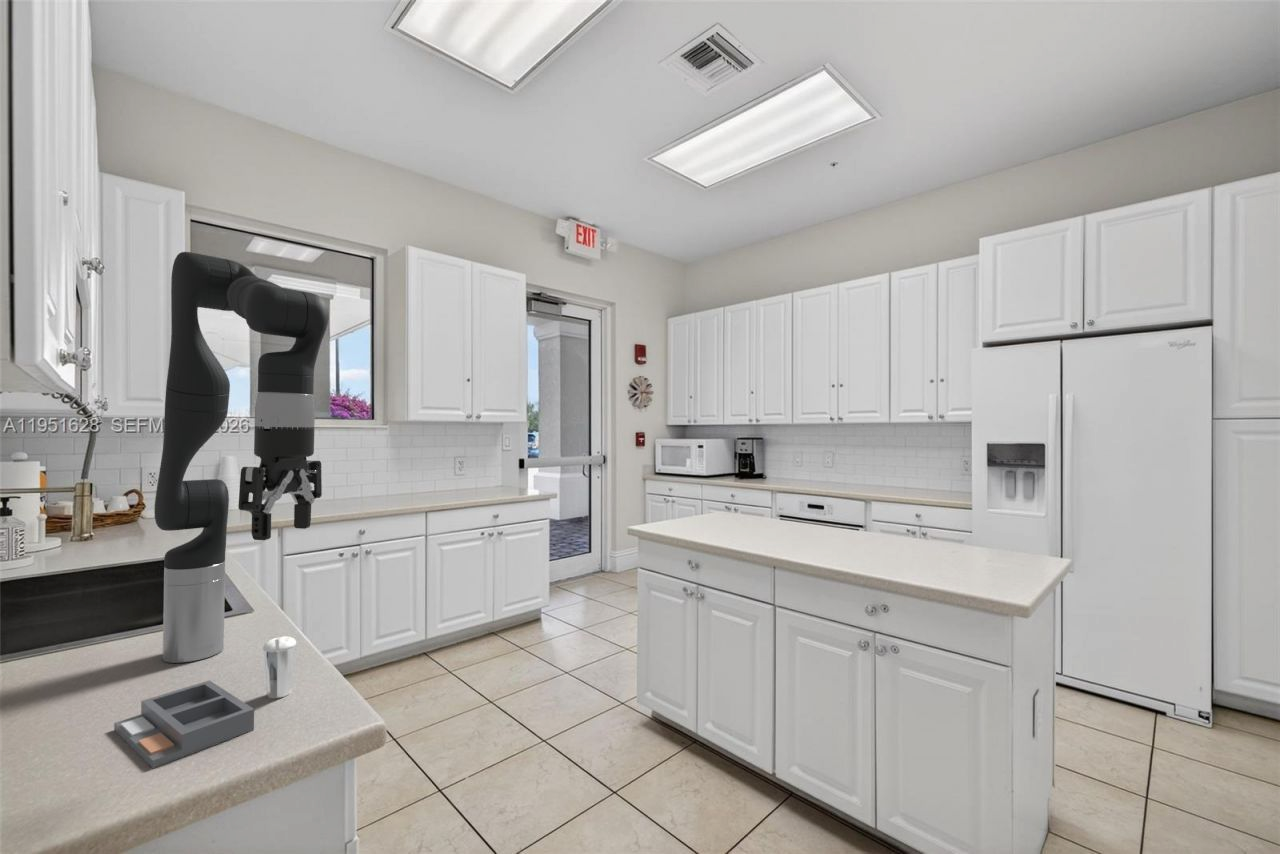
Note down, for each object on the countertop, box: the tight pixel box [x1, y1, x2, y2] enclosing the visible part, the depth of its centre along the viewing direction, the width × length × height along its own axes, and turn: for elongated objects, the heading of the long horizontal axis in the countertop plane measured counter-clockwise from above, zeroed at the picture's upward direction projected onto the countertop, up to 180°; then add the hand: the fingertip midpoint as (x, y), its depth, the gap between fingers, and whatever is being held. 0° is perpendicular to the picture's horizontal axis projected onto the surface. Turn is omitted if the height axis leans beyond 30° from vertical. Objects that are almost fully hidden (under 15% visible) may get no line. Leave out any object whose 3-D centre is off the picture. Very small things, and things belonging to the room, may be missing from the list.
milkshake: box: [262, 636, 297, 700], centre depth 93 cm, size 5×5×10 cm
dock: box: [113, 680, 255, 769], centre depth 82 cm, size 16×12×3 cm
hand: (282, 533), depth 84 cm, fingers open, 8 cm apart
